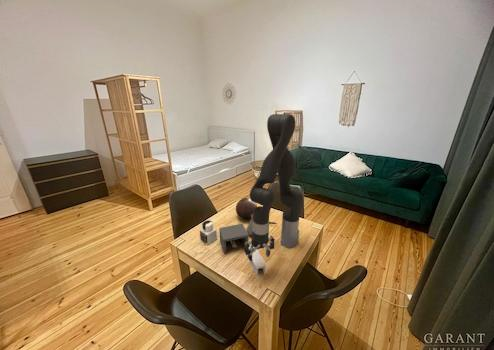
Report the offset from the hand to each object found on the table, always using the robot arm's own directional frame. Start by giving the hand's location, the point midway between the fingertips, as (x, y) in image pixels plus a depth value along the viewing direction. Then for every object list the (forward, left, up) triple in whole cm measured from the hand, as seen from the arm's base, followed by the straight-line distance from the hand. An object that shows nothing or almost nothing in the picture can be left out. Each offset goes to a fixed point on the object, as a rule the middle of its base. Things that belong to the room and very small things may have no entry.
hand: (259, 257), depth 96 cm
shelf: (+7, -23, -9) cm, 25 cm away
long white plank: (0, -6, -9) cm, 11 cm away
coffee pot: (-11, -24, -9) cm, 28 cm away
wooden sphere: (-9, -47, -9) cm, 49 cm away
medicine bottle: (+20, -32, -9) cm, 38 cm away
